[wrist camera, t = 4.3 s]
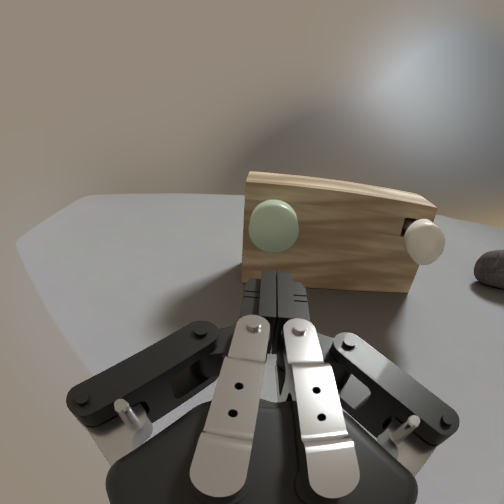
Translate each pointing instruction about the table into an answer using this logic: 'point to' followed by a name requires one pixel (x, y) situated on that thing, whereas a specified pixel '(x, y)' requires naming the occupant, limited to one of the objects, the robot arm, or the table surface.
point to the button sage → (273, 226)
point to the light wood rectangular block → (337, 233)
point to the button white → (423, 240)
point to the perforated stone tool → (491, 269)
